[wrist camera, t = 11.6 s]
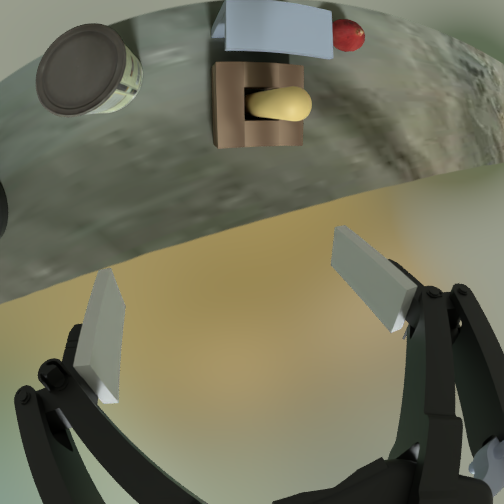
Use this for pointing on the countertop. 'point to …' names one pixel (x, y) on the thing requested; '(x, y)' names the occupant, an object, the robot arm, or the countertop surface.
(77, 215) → the countertop surface
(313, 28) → the light blue box
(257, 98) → the peg
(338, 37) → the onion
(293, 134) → the socket block
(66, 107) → the coffee can
